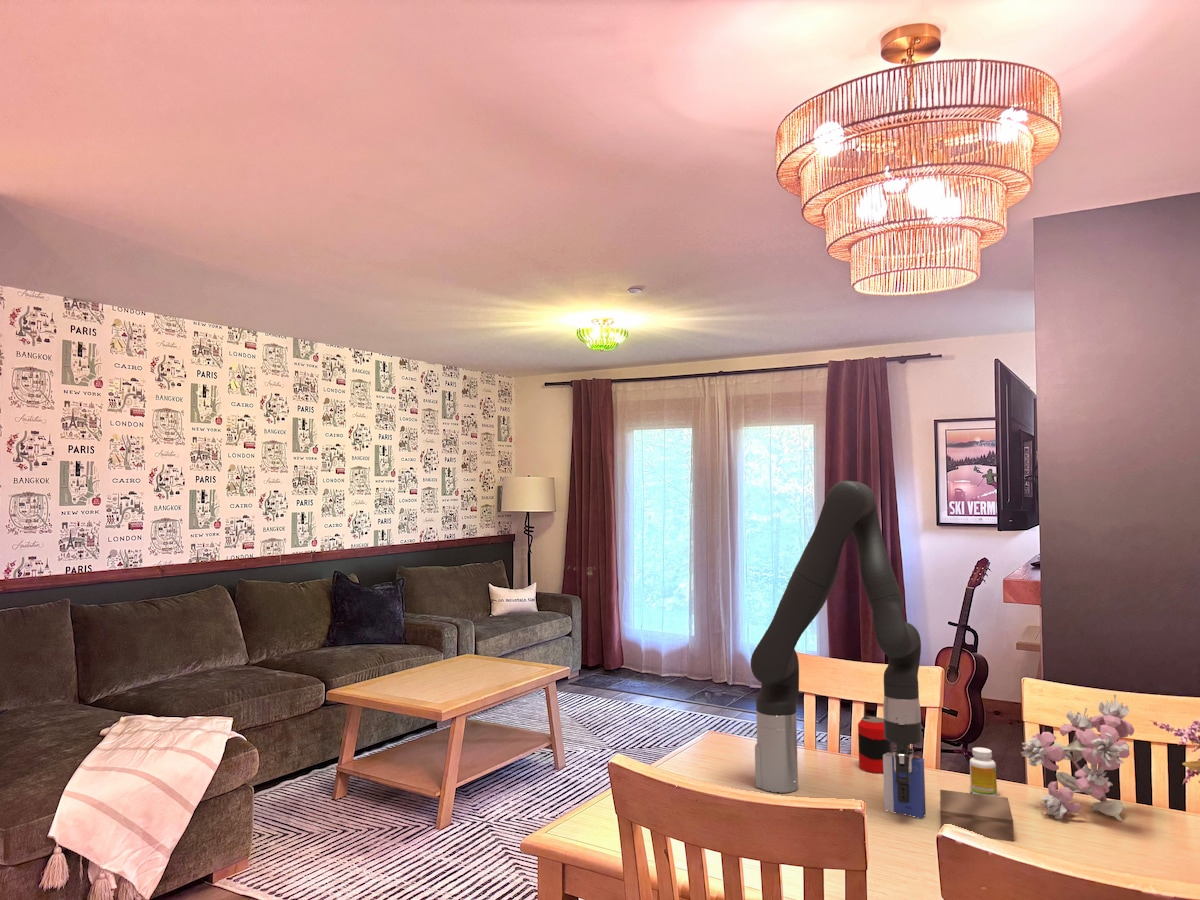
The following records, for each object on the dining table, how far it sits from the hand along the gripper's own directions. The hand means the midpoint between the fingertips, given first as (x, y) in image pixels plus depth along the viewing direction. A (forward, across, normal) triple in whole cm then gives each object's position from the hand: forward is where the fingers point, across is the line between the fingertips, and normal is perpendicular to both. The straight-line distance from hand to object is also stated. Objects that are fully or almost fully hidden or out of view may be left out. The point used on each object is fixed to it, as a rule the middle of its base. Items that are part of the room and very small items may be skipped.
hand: (904, 795), depth 169 cm
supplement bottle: (+4, -19, +16) cm, 25 cm away
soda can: (+4, -28, -8) cm, 29 cm away
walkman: (+4, 0, 0) cm, 4 cm away
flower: (+4, -12, +34) cm, 36 cm away
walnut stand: (+4, +1, +14) cm, 14 cm away
